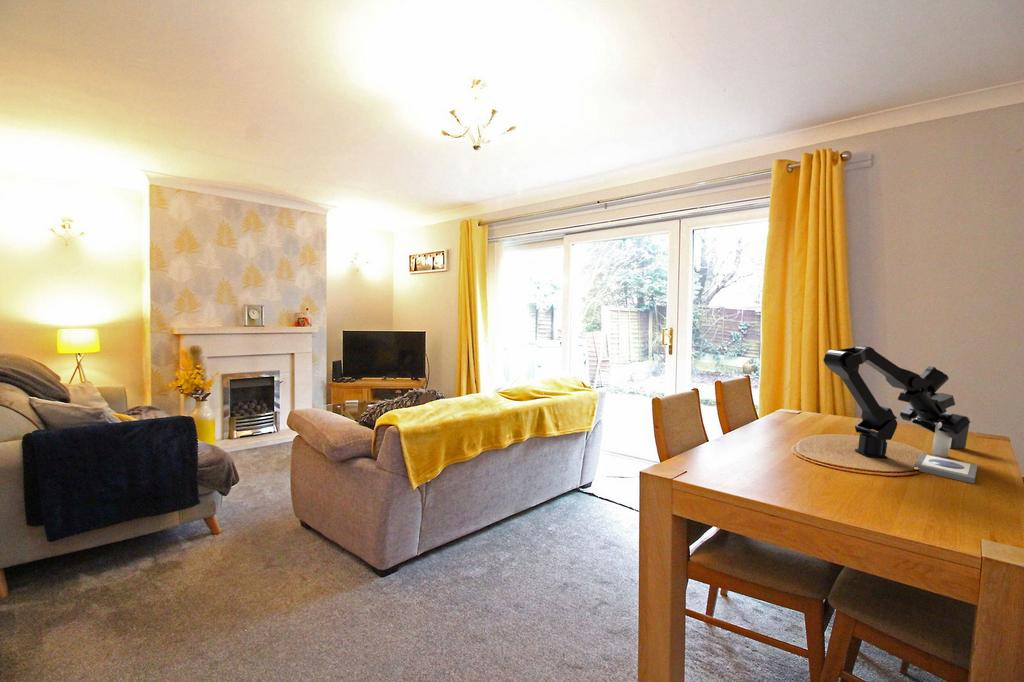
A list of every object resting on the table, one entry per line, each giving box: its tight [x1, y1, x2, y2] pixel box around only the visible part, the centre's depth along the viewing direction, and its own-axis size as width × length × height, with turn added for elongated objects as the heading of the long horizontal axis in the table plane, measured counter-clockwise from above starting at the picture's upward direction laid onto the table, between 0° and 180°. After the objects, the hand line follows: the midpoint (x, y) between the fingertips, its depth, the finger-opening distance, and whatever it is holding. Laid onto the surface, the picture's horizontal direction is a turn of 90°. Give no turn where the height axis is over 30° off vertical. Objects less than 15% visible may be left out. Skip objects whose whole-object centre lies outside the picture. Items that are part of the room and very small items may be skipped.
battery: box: [949, 417, 970, 449], centre depth 168 cm, size 7×4×11 cm, turn 105°
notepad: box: [913, 452, 978, 485], centre depth 143 cm, size 18×13×2 cm
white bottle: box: [931, 412, 952, 458], centre depth 157 cm, size 4×4×14 cm
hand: (946, 435), depth 158 cm, fingers open, 5 cm apart
